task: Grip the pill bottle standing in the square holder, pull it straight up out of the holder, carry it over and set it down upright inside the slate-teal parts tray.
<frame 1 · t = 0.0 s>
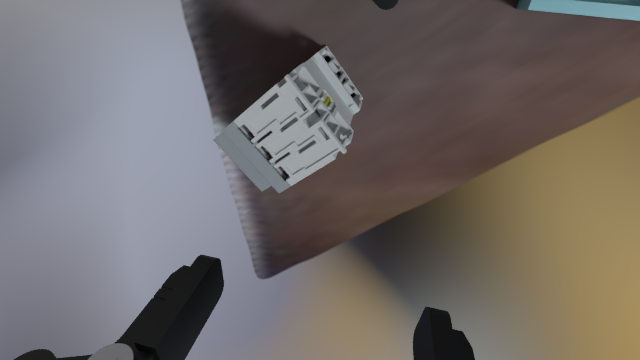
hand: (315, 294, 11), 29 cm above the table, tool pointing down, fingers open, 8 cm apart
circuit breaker: (302, 105, 39), on the table
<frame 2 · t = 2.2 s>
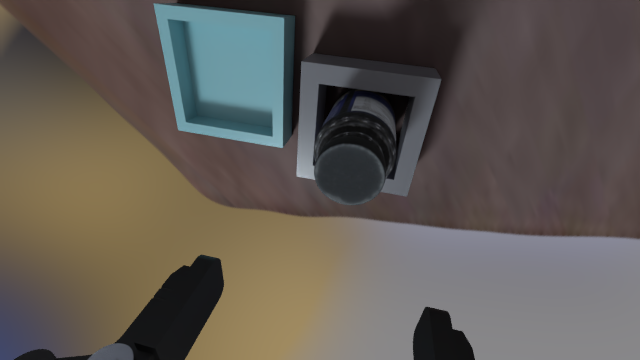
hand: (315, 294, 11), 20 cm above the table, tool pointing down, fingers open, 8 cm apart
pill bottle: (363, 117, 28), resting in holder
holder: (362, 118, 28), on the table
parts tray: (238, 74, 28), on the table
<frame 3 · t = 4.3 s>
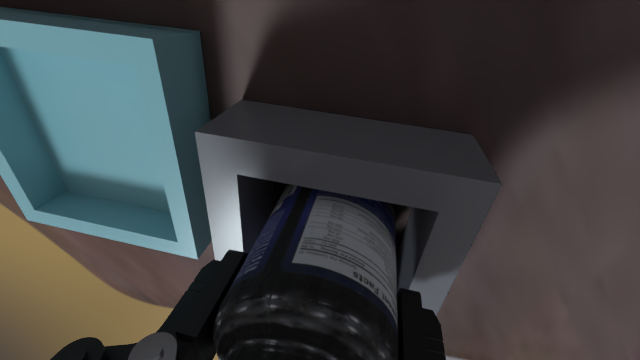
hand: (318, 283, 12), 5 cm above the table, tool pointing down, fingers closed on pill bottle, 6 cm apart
pill bottle: (338, 205, 16), resting in holder, touching gripper
holder: (338, 207, 16), on the table
parts tray: (122, 129, 16), on the table
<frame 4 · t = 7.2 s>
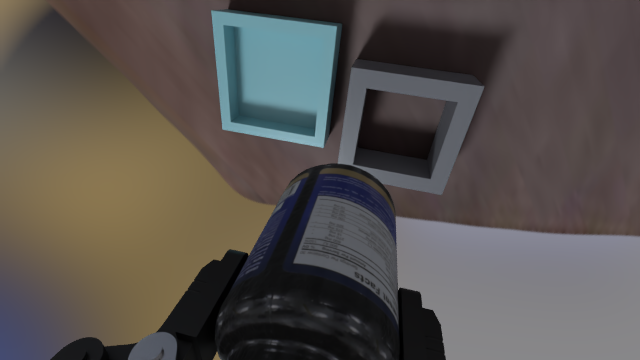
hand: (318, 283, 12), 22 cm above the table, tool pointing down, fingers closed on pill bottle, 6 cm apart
pill bottle: (339, 205, 16), point 16 cm above the table, touching gripper
holder: (399, 120, 30), on the table
parts tray: (282, 77, 30), on the table
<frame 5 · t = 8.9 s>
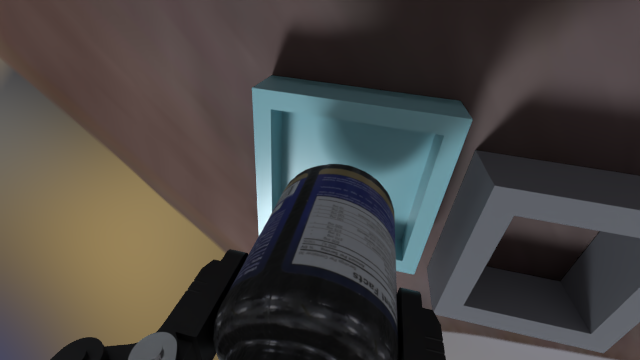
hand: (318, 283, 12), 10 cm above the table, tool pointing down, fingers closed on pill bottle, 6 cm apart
pill bottle: (338, 206, 16), point 4 cm above the table, touching gripper
holder: (528, 232, 20), on the table
parts tray: (349, 168, 20), on the table
when the fingers open (7 cm above the table, at t = 10.4 s): pill bottle stays where it is, resting on parts tray.
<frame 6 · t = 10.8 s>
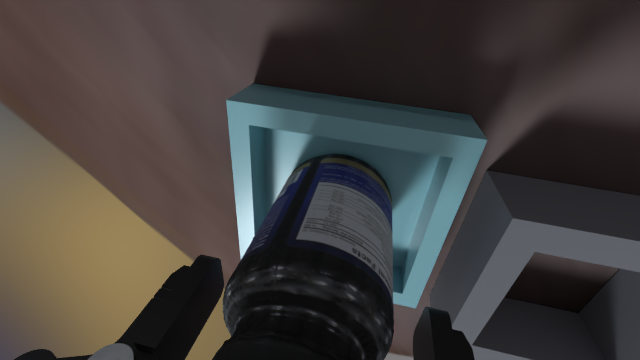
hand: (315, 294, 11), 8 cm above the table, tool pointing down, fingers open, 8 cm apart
pill bottle: (339, 195, 17), point 1 cm above the table, touching parts tray
holder: (544, 261, 17), on the table
parts tray: (342, 188, 18), on the table
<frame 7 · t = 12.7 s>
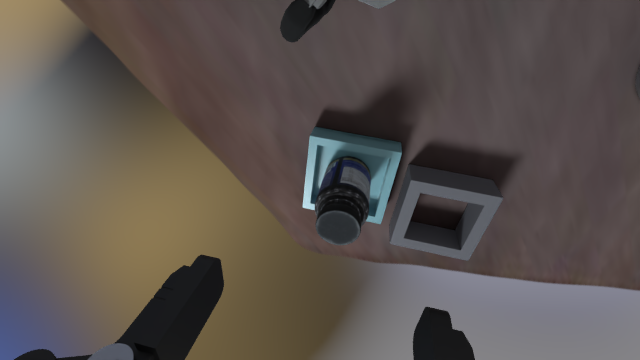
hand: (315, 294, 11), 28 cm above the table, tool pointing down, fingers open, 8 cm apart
pill bottle: (348, 173, 39), point 1 cm above the table, touching parts tray
holder: (436, 204, 40), on the table
parts tray: (350, 171, 40), on the table
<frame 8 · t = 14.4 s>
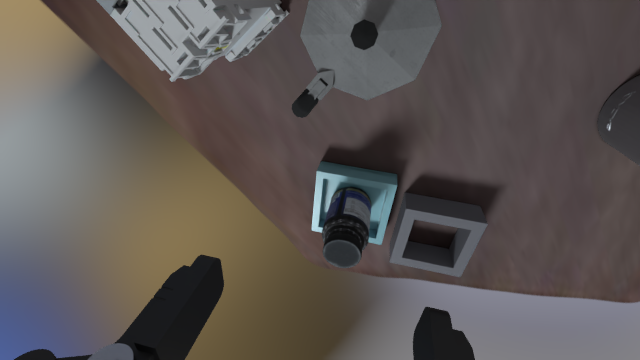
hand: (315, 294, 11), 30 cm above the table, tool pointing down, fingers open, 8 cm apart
coffeepot: (369, 26, 33), on the table
pill bottle: (351, 201, 45), point 1 cm above the table, touching parts tray
holder: (431, 226, 45), on the table
parts tray: (353, 198, 45), on the table
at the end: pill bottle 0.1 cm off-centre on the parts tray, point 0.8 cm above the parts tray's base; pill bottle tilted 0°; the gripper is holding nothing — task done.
